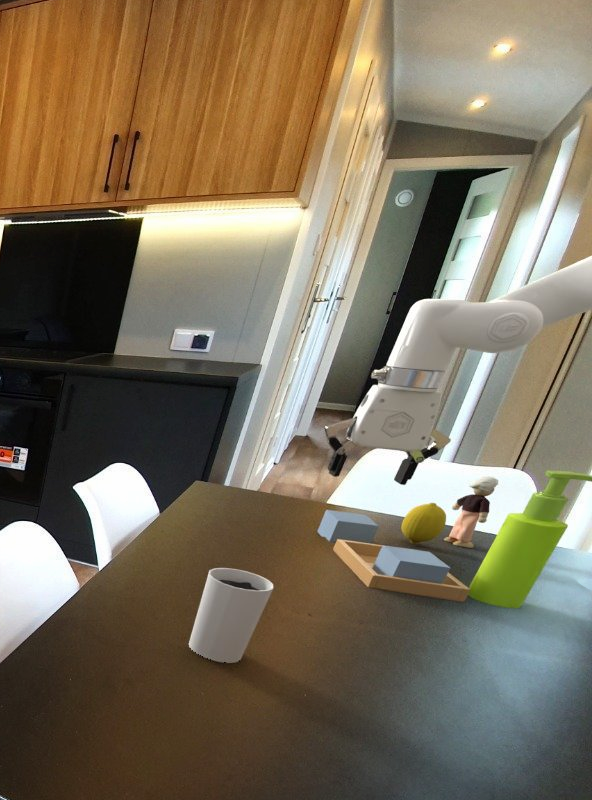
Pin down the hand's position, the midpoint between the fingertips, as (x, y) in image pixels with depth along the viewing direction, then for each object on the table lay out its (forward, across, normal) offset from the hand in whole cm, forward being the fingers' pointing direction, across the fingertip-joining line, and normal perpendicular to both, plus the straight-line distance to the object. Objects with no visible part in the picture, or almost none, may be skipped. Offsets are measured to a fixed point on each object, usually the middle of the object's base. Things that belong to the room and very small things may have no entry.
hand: (365, 478), depth 113 cm
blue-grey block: (+11, +2, -21) cm, 24 cm away
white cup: (+12, -28, -58) cm, 66 cm away
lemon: (+12, +12, +4) cm, 18 cm away
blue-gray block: (+12, 0, 0) cm, 12 cm away
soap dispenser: (+12, +14, -22) cm, 29 cm away
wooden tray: (+12, +2, -17) cm, 21 cm away
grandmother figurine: (+12, +20, +9) cm, 25 cm away
